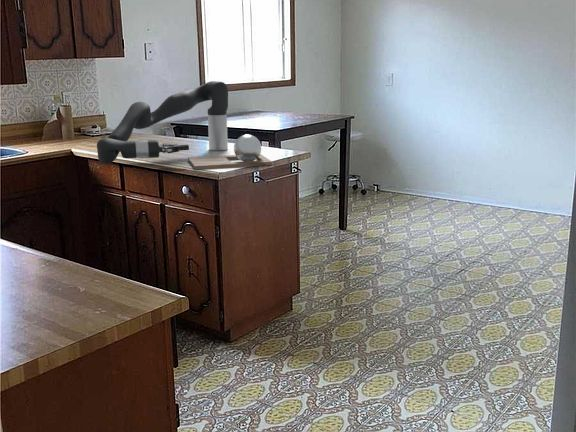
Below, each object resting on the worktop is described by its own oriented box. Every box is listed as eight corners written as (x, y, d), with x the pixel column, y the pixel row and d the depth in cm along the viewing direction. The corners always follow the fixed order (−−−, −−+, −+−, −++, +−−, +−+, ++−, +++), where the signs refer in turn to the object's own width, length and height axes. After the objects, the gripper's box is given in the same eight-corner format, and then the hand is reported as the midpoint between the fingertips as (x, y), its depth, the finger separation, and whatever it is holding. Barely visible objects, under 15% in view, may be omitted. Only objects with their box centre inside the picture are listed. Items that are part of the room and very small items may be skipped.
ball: (252, 128, 279) (261, 153, 283) (227, 138, 277) (237, 163, 281) (258, 132, 268) (268, 158, 272) (232, 142, 266) (242, 168, 270)
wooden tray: (188, 160, 280) (187, 157, 279) (260, 156, 289) (259, 153, 288) (195, 169, 259) (194, 166, 259) (272, 165, 268) (272, 161, 268)
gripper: (147, 142, 255) (190, 140, 260) (145, 138, 268) (186, 136, 272) (148, 160, 257) (190, 158, 262) (146, 155, 270) (187, 153, 274)
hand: (188, 147), depth 267 cm, fingers closed
